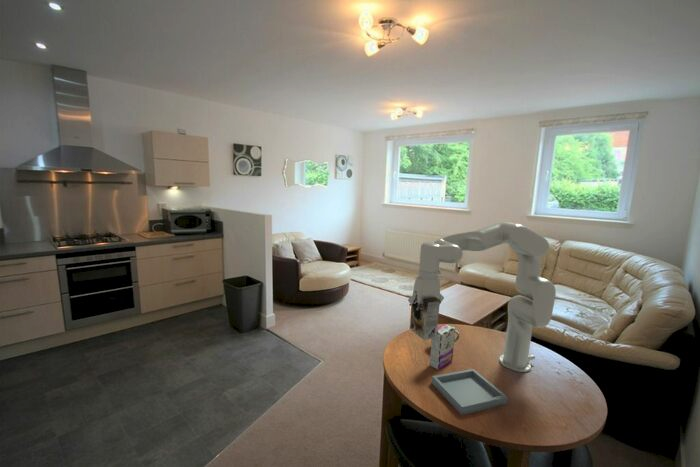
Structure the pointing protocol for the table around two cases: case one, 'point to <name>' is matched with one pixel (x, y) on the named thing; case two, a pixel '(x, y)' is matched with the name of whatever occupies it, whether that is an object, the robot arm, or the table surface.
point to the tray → (468, 391)
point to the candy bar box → (442, 347)
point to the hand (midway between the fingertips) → (424, 317)
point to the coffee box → (426, 319)
